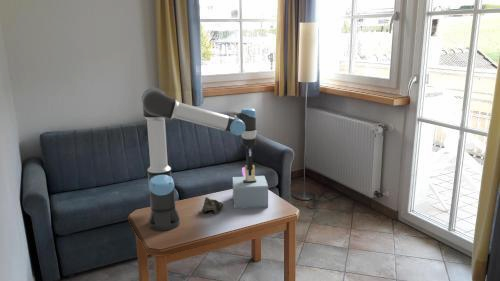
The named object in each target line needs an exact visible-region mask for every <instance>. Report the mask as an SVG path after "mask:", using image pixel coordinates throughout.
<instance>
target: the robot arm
mask: <svg viewBox="0 0 500 281" xmlns="http://www.w3.org/2000/svg"><path fill="white" fill-rule="evenodd" d="M141 102H142V112H143V118H144V119H146V124H147V125H146V126H147V127H146V128H147V136H148V150H149V153H148V154H149V167H148V168H147V184H148V190H149V191H148V192H149V199H150V201H149V202H150V213H149V217H148V222H147V223H148V227H149V229H151V230H152V231H158V232H159V231H161V232H162V231H163V232H164V231H169V230H172V229H175V228H177V227H178V226H179V225H180V223H181V218H180V215H179V213H178V210H177V209H176V196H175V181H174V179H173V177H172V167H171V166H170V165H169V164H168V162H169V161H168V152H167V151H168V150H167V149H168V148H167V147H168V146H167V132H166V119H169V120H172V119H177V120H181V121H184V122H185V121H186V122H188V123H189V122H190V123H193V124H196V125H199V126H200V125H201V126H205V127H209V128H213V129H217V130H221V131H225V132H228V133H231V134H233V135H234V136H241V145H242V146H244V147H245V149H244V151H245V157H246V161H245V162H246V163H245V164H246V165H248V168H247V169H246V170H247V181H253V178H252V170H253V165H254V164H253V163H254V162H253V157H254V148H253V146H256V145H257V138H256V137H257V133H258V131H257V112H256V109H255V108H252V107H245V108H242V109H241V111H240V112H237V113H236V112H235V113H219V112H216V111H212V110H209V109H208V110H207V109H205V108H202V107H198V106H195V105H190V104H188V103H183V102H180V101H178V100H177V99H176V98H173V97H171V96H168V95H167V94H166V92H165V91H164V90H162V89H160V88H158V87H150V88H148V89H147V90H145V91H144V92H143V94H142V96H141Z"/></svg>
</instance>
